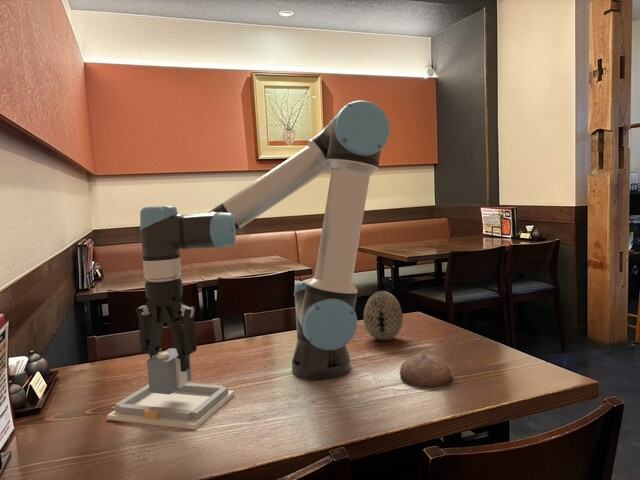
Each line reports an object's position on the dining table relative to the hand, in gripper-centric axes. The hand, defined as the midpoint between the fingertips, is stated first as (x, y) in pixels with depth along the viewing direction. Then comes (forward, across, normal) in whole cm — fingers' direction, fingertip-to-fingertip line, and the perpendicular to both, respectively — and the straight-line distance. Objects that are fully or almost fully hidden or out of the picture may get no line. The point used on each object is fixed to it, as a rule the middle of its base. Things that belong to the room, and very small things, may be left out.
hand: (171, 384), depth 98 cm
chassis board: (+5, 0, 0) cm, 5 cm away
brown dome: (+5, -52, -26) cm, 58 cm away
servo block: (0, 0, 0) cm, 0 cm away
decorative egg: (+5, -38, -53) cm, 65 cm away
